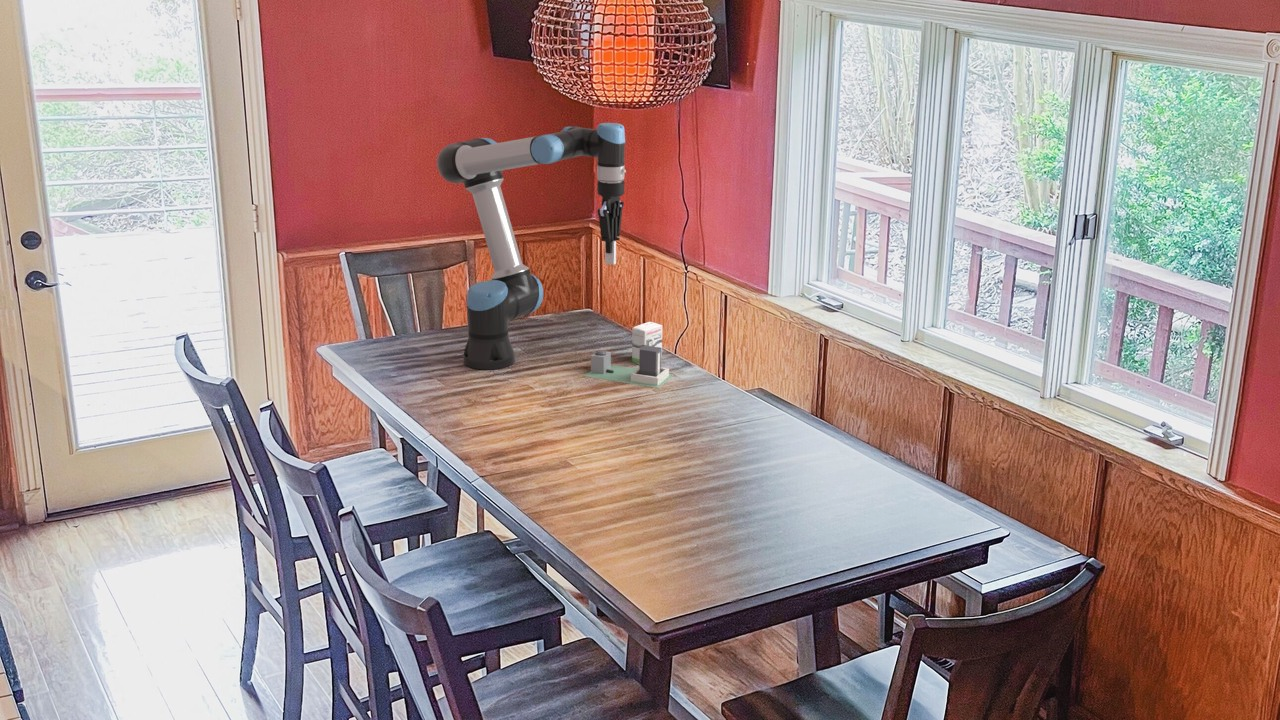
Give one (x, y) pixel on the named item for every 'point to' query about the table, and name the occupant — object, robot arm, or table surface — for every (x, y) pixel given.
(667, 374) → the white square frame
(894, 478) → the table surface
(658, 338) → the ink box
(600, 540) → the table surface
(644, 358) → the plug
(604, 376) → the board
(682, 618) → the table surface
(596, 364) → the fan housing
